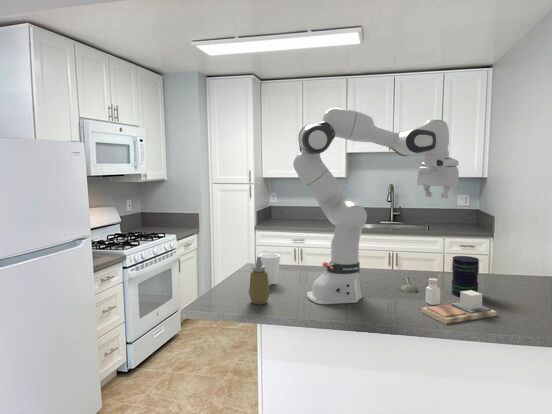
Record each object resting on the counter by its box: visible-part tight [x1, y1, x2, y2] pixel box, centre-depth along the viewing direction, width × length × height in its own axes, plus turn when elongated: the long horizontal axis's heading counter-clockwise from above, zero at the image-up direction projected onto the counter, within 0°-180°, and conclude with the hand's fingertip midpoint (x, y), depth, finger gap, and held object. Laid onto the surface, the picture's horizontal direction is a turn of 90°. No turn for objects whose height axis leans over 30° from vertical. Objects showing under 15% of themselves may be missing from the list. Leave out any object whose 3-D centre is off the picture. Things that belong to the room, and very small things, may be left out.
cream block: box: [459, 290, 483, 309], centre depth 143 cm, size 5×5×5 cm
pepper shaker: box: [425, 277, 441, 306], centre depth 153 cm, size 4×4×10 cm
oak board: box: [420, 301, 497, 325], centre depth 142 cm, size 22×12×2 cm, turn 109°
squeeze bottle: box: [248, 256, 271, 305], centre depth 155 cm, size 8×8×18 cm
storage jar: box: [451, 255, 480, 298], centre depth 164 cm, size 10×10×15 cm
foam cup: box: [258, 252, 281, 285], centre depth 182 cm, size 10×9×13 cm
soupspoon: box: [400, 276, 418, 294], centre depth 177 cm, size 22×3×7 cm
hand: (436, 197), depth 158 cm, fingers open, 8 cm apart
